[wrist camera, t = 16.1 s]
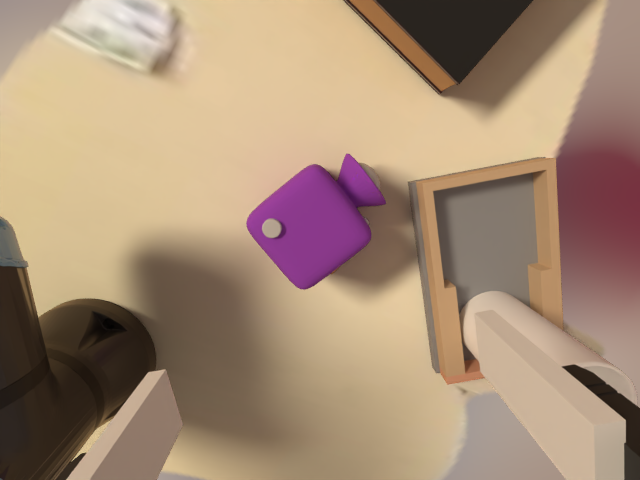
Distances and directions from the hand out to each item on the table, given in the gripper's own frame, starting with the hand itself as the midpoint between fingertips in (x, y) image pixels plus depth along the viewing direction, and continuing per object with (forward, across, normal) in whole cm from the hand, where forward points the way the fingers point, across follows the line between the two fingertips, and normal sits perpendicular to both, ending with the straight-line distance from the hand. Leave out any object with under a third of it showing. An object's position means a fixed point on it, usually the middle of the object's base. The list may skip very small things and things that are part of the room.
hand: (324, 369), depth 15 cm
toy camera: (+29, +1, +3) cm, 29 cm away
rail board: (+29, +19, -8) cm, 35 cm away
